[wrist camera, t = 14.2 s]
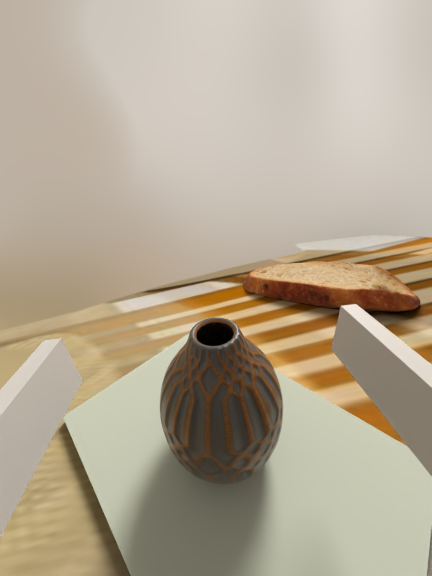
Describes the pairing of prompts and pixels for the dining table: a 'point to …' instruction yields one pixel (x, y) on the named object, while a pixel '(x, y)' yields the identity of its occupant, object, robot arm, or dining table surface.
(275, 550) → the mat
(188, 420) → the vase
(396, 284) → the slice of bread
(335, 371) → the dining table surface
